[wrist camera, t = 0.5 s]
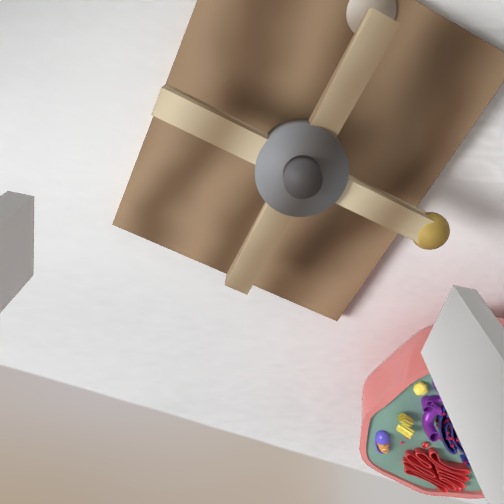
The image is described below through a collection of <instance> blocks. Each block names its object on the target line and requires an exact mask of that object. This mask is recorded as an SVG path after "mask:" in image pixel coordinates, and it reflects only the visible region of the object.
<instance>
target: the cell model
mask: <svg viewBox="0 0 504 504" xmlns="http://www.w3.org/2000/svg"><path fill="white" fill-rule="evenodd" d="M496 318H497V319H498V320H499V322H500V323H501V324H502V326H503V327H504V318H498V317H496ZM433 326H434V324H433V325H431V326H428V327H426V328H424V329H422V330H421V331H419V332H418V333H416V334H415V335H413V336H412V337H411V338H410V339H409V340H408V341H406V342H405V343H404V344H403V345H402V346H400V347H399V348H398V349H397V350H396V351H395V352H394V353H393V354H391V355H390V356H389V357H388V358H387V359H386V360H385V361H384V362H382V363H381V364H380V365H379V366H378V367H377V368H376V369H375V370H374V371H373V372H372V373H371V374H370V375H369V376H368V377H367V379H366V380H365V383H364V386H363V394H362V425H361V437H360V448H359V450H360V453H361V457H362V460H363V461H364V462H365V463H366V464H367V465H368V466H370V467H371V468H373V469H374V470H376V471H377V472H379V473H381V474H383V475H385V476H387V477H389V478H391V479H393V480H395V481H397V482H399V483H401V484H403V485H405V486H407V487H409V488H411V489H413V490H416V491H418V492H420V493H424V494H427V495H433V496H447V497H458V498H468V499H478V498H485V497H484V495H483V492H482V490H481V488H480V486H479V483H478V481H477V479H476V476H475V474H474V472H473V470H472V467H471V465H470V463H469V461H468V458H467V456H466V454H465V452H464V449H463V447H462V445H461V443H460V440H459V438H458V436H457V434H456V431H455V429H454V427H453V425H452V422H451V420H450V418H449V416H448V413H447V411H446V409H445V406H444V404H443V402H442V400H441V397H440V395H439V393H438V391H437V388H436V386H435V384H434V382H433V379H432V377H431V375H430V373H429V370H428V368H427V366H426V364H425V361H424V359H423V357H422V355H421V351H422V349H423V346H424V344H425V342H426V340H427V338H428V336H429V334H430V332H431V330H432V328H433Z"/></svg>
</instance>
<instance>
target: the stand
mask: <svg viewBox="0 0 504 504" xmlns="http://www.w3.org/2000/svg"><path fill="white" fill-rule="evenodd" d="M368 8H374V9H376V10H377V11H379V12H381V13H383V14H384V15H386V16H388V17H390V18H391V19H393V20H395V21H397V22H398V23H400V24H401V25H400V26H399V28H398V30H397V32H396V33H395V35H394V37H393V39H392V40H391V42H390V44H389V46H388V48H387V49H386V51H385V53H384V55H383V56H382V58H381V60H380V62H379V63H378V65H377V67H376V69H375V70H374V72H373V74H372V76H371V77H370V79H369V81H368V83H367V84H366V86H365V88H364V90H363V92H362V93H361V95H360V97H359V99H358V100H357V102H356V104H355V106H354V107H353V109H352V111H351V113H350V114H349V116H348V118H347V120H346V121H345V123H344V125H343V127H342V129H341V130H340V132H339V134H338V136H337V138H338V139H339V141H340V143H341V145H342V147H343V149H344V151H345V153H346V155H347V158H348V163H349V174H350V175H352V176H354V177H356V178H358V179H360V180H362V181H364V182H366V183H368V184H371V185H373V186H375V187H377V188H379V189H381V190H383V191H385V192H387V193H389V194H391V195H393V196H395V197H397V198H399V199H401V200H403V201H405V202H407V203H409V204H411V205H413V206H415V207H417V206H418V204H419V203H420V201H421V200H422V198H423V197H424V196H425V194H426V193H427V191H428V190H429V188H430V187H431V185H432V184H433V183H434V181H435V180H436V178H437V177H438V175H439V174H440V172H441V171H442V170H443V168H444V167H445V165H446V164H447V162H448V161H449V160H450V158H451V157H452V155H453V154H454V152H455V151H456V149H457V148H458V147H459V145H460V144H461V142H462V141H463V139H464V138H465V136H466V135H467V134H468V132H469V131H470V129H471V128H472V126H473V125H474V124H475V122H476V121H477V119H478V118H479V116H480V115H481V113H482V112H483V111H484V109H485V108H486V106H487V105H488V103H489V102H490V100H491V99H492V98H493V96H494V95H495V93H496V92H497V90H498V89H499V88H500V86H501V85H502V83H503V82H504V52H503V51H501V50H499V49H498V48H496V47H494V46H492V45H491V44H489V43H487V42H486V41H484V40H482V39H480V38H479V37H477V36H475V35H474V34H472V33H470V32H469V31H467V30H465V29H463V28H462V27H460V26H458V25H457V24H455V23H453V22H451V21H450V20H448V19H446V18H445V17H443V16H441V15H439V14H438V13H436V12H434V11H433V10H431V9H429V8H427V7H426V6H424V5H422V4H421V3H419V2H417V1H416V0H197V3H196V6H195V8H194V11H193V13H192V16H191V19H190V21H189V24H188V27H187V29H186V32H185V34H184V37H183V40H182V42H181V45H180V48H179V50H178V53H177V56H176V58H175V61H174V63H173V66H172V69H171V71H170V74H169V77H168V79H167V82H166V84H168V85H170V86H172V87H175V88H177V89H179V90H181V91H183V92H185V93H187V94H189V95H191V96H193V97H195V98H197V99H199V100H201V101H203V102H205V103H207V104H209V105H211V106H213V107H215V108H217V109H219V110H221V111H223V112H225V113H227V114H229V115H231V116H233V117H235V118H237V119H239V120H241V121H243V122H245V123H247V124H249V125H251V126H253V127H255V128H257V129H259V130H261V131H263V132H265V133H268V132H269V131H270V130H271V129H272V128H273V127H275V126H276V125H278V124H280V123H282V122H284V121H286V120H290V119H295V118H307V119H309V118H310V116H311V115H312V113H313V111H314V109H315V107H316V105H317V103H318V101H319V99H320V98H321V96H322V94H323V92H324V90H325V88H326V86H327V84H328V83H329V81H330V79H331V77H332V75H333V73H334V71H335V69H336V67H337V66H338V64H339V62H340V60H341V58H342V56H343V54H344V52H345V51H346V49H347V47H348V45H349V43H350V41H351V39H352V37H353V35H354V34H355V32H356V30H357V28H358V26H359V24H360V22H361V20H362V19H363V17H364V15H365V13H366V11H367V9H368ZM264 203H265V201H264V199H263V198H262V196H261V195H260V193H259V191H258V189H257V185H256V182H255V164H253V163H251V162H248V161H246V160H244V159H242V158H240V157H238V156H236V155H234V154H232V153H230V152H228V151H226V150H223V149H221V148H219V147H217V146H215V145H213V144H211V143H209V142H207V141H205V140H203V139H201V138H198V137H196V136H194V135H192V134H190V133H188V132H186V131H184V130H182V129H180V128H178V127H176V126H173V125H171V124H169V123H167V122H165V121H163V120H161V119H159V118H157V117H155V116H153V119H152V121H151V124H150V127H149V129H148V132H147V134H146V137H145V140H144V142H143V145H142V148H141V150H140V153H139V156H138V158H137V161H136V163H135V166H134V169H133V171H132V174H131V177H130V179H129V182H128V184H127V187H126V190H125V192H124V195H123V198H122V200H121V203H120V206H119V208H118V211H117V213H116V216H115V219H114V221H113V224H112V225H115V226H117V227H119V228H122V229H124V230H126V231H129V232H131V233H133V234H136V235H138V236H140V237H143V238H145V239H147V240H150V241H152V242H154V243H157V244H159V245H161V246H164V247H166V248H168V249H171V250H173V251H175V252H178V253H180V254H182V255H184V256H187V257H189V258H191V259H194V260H196V261H198V262H201V263H203V264H205V265H208V266H210V267H212V268H215V269H217V270H219V271H222V272H224V273H226V274H227V273H228V271H229V269H230V267H231V265H232V263H233V261H234V259H235V257H236V256H237V254H238V252H239V250H240V248H241V246H242V244H243V242H244V241H245V239H246V237H247V235H248V233H249V231H250V229H251V227H252V226H253V224H254V222H255V220H256V218H257V216H258V214H259V212H260V210H261V209H262V207H263V205H264ZM397 234H398V233H396V232H394V231H392V230H390V229H388V228H386V227H384V226H382V225H380V224H378V223H376V222H374V221H371V220H369V219H367V218H365V217H363V216H361V215H359V214H357V213H355V212H353V211H351V210H349V209H346V208H344V207H342V206H340V205H338V204H336V203H334V204H333V205H332V206H331V207H329V208H328V209H326V210H325V211H323V212H321V213H319V214H316V215H312V216H307V217H293V216H292V217H291V218H290V220H289V222H288V224H287V225H286V227H285V229H284V231H283V232H282V234H281V236H280V238H279V239H278V241H277V243H276V245H275V246H274V248H273V250H272V252H271V253H270V255H269V257H268V259H267V261H266V262H265V264H264V266H263V268H262V269H261V271H260V273H259V275H258V276H257V278H256V280H255V282H254V283H253V285H254V286H257V287H259V288H261V289H263V290H266V291H268V292H270V293H273V294H275V295H277V296H280V297H282V298H284V299H287V300H289V301H291V302H294V303H296V304H298V305H301V306H303V307H305V308H308V309H310V310H312V311H315V312H317V313H319V314H322V315H324V316H326V317H329V318H331V319H333V320H336V321H338V319H339V318H340V316H341V315H342V314H343V312H344V311H345V309H346V308H347V306H348V305H349V304H350V302H351V301H352V299H353V298H354V296H355V295H356V293H357V292H358V291H359V289H360V288H361V286H362V285H363V283H364V282H365V280H366V279H367V278H368V276H369V275H370V273H371V272H372V270H373V269H374V268H375V266H376V265H377V263H378V262H379V260H380V259H381V257H382V256H383V255H384V253H385V252H386V250H387V249H388V247H389V246H390V244H391V243H392V242H393V240H394V239H395V237H396V236H397Z"/></svg>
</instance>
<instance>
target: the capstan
mask: <svg viewBox="0 0 504 504" xmlns="http://www.w3.org/2000/svg"><path fill="white" fill-rule="evenodd" d="M400 25H401V24H400V23H398V22H397V21H395V20H393V19H391V18H390V17H388V16H386V15H384V14H383V13H381V12H379V11H377V10H376V9H374V8H368V9H367V11H366V13H365V15H364V17H363V19H362V20H361V22H360V24H359V26H358V28H357V30H356V32H355V34H354V35H353V37H352V39H351V41H350V43H349V45H348V47H347V49H346V51H345V52H344V54H343V56H342V58H341V60H340V62H339V64H338V66H337V67H336V69H335V71H334V73H333V75H332V77H331V79H330V81H329V83H328V84H327V86H326V88H325V90H324V92H323V94H322V96H321V98H320V99H319V101H318V103H317V105H316V107H315V109H314V111H313V113H312V115H311V116H310V118H309V119H307V118H295V119H290V120H286V121H284V122H282V123H280V124H278V125H276V126H275V127H273V128H272V129H271V130H270V131H269V132H268V133H265V132H263V131H261V130H259V129H257V128H255V127H253V126H251V125H249V124H247V123H245V122H243V121H241V120H239V119H237V118H235V117H233V116H231V115H229V114H227V113H225V112H223V111H221V110H219V109H217V108H215V107H213V106H211V105H209V104H207V103H205V102H203V101H201V100H199V99H197V98H195V97H193V96H191V95H189V94H187V93H185V92H183V91H181V90H179V89H177V88H175V87H172V86H170V85H168V84H165V85H164V86H163V87H162V88H161V90H160V93H159V96H158V98H157V101H156V104H155V106H154V109H153V112H152V114H151V115H153V116H155V117H157V118H159V119H161V120H163V121H165V122H167V123H169V124H171V125H173V126H176V127H178V128H180V129H182V130H184V131H186V132H188V133H190V134H192V135H194V136H196V137H198V138H201V139H203V140H205V141H207V142H209V143H211V144H213V145H215V146H217V147H219V148H221V149H223V150H226V151H228V152H230V153H232V154H234V155H236V156H238V157H240V158H242V159H244V160H246V161H248V162H251V163H253V164H255V182H256V185H257V189H258V191H259V193H260V195H261V196H262V198H263V199H264V201H265V203H264V205H263V207H262V209H261V210H260V212H259V214H258V216H257V218H256V220H255V222H254V224H253V226H252V227H251V229H250V231H249V233H248V235H247V237H246V239H245V241H244V242H243V244H242V246H241V248H240V250H239V252H238V254H237V256H236V257H235V259H234V261H233V263H232V265H231V267H230V269H229V271H228V273H227V275H226V281H225V285H226V286H228V287H230V288H233V289H235V290H238V291H240V292H242V293H245V294H248V292H249V290H250V289H251V287H252V285H253V283H254V282H255V280H256V278H257V276H258V275H259V273H260V271H261V269H262V268H263V266H264V264H265V262H266V261H267V259H268V257H269V255H270V253H271V252H272V250H273V248H274V246H275V245H276V243H277V241H278V239H279V238H280V236H281V234H282V232H283V231H284V229H285V227H286V225H287V224H288V222H289V220H290V218H291V217H292V216H293V217H307V216H312V215H316V214H319V213H321V212H323V211H325V210H326V209H328V208H329V207H331V206H332V205H333V204H334V203H336V204H338V205H340V206H342V207H344V208H346V209H349V210H351V211H353V212H355V213H357V214H359V215H361V216H363V217H365V218H367V219H369V220H371V221H374V222H376V223H378V224H380V225H382V226H384V227H386V228H388V229H390V230H392V231H394V232H396V233H399V234H401V235H403V236H405V237H407V238H409V239H411V240H413V242H414V243H415V244H416V245H417V246H419V247H421V248H423V249H429V250H431V249H436V248H439V247H440V246H442V245H443V244H444V243H445V242H446V241H447V239H448V237H449V234H450V228H449V224H448V222H447V221H446V219H445V218H444V217H443V216H441V215H440V214H437V213H433V212H425V211H423V210H421V209H419V208H417V207H415V206H413V205H411V204H409V203H407V202H405V201H403V200H401V199H399V198H397V197H395V196H393V195H391V194H389V193H387V192H385V191H383V190H381V189H379V188H377V187H375V186H373V185H371V184H368V183H366V182H364V181H362V180H360V179H358V178H356V177H354V176H352V175H350V174H349V163H348V158H347V155H346V153H345V151H344V149H343V147H342V145H341V143H340V141H339V139H338V138H337V136H338V134H339V132H340V130H341V129H342V127H343V125H344V123H345V121H346V120H347V118H348V116H349V114H350V113H351V111H352V109H353V107H354V106H355V104H356V102H357V100H358V99H359V97H360V95H361V93H362V92H363V90H364V88H365V86H366V84H367V83H368V81H369V79H370V77H371V76H372V74H373V72H374V70H375V69H376V67H377V65H378V63H379V62H380V60H381V58H382V56H383V55H384V53H385V51H386V49H387V48H388V46H389V44H390V42H391V40H392V39H393V37H394V35H395V33H396V32H397V30H398V28H399V26H400Z"/></svg>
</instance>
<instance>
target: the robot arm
mask: <svg viewBox="0 0 504 504" xmlns="http://www.w3.org/2000/svg"><path fill="white" fill-rule="evenodd" d="M33 261H34V196H30V195H25V194H20V193H15V192H11V191H7V192H6V193H4V194H3V195H2V196H0V313H1V311H2V310H3V309H4V308H5V307H6V306H7V305H8V303H9V302H10V301H11V300H12V299H13V298H14V297H15V295H16V294H17V293H18V292H19V291H20V290H21V289H22V287H23V286H24V285H25V284H26V283H27V282H28V281H29V279H30V278H31V277H32V276H33ZM421 355H422V357H423V359H424V361H425V364H426V366H427V368H428V370H429V373H430V375H431V377H432V379H433V382H434V384H435V386H436V388H437V391H438V393H439V395H440V397H441V400H442V402H443V404H444V406H445V409H446V411H447V413H448V416H449V418H450V420H451V422H452V425H453V427H454V429H455V431H456V434H457V436H458V438H459V440H460V443H461V445H462V447H463V449H464V452H465V454H466V456H467V458H468V461H469V463H470V465H471V467H472V470H473V472H474V474H475V476H476V479H477V481H478V483H479V486H480V488H481V490H482V492H483V495H484V497H485V499H486V501H487V504H504V327H503V326H502V324H501V323H500V322H499V320H498V319H497V318H496V316H495V315H494V314H493V312H492V311H491V310H490V308H489V307H488V306H487V304H486V303H485V301H484V300H483V299H482V297H481V296H480V295H479V293H478V292H477V291H476V290H474V289H469V288H464V287H459V286H455V285H453V287H452V289H451V291H450V293H449V295H448V297H447V299H446V301H445V303H444V305H443V307H442V309H441V311H440V314H439V316H438V318H437V320H436V322H435V324H434V326H433V328H432V330H431V332H430V334H429V336H428V338H427V340H426V342H425V344H424V346H423V349H422V351H421Z"/></svg>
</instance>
